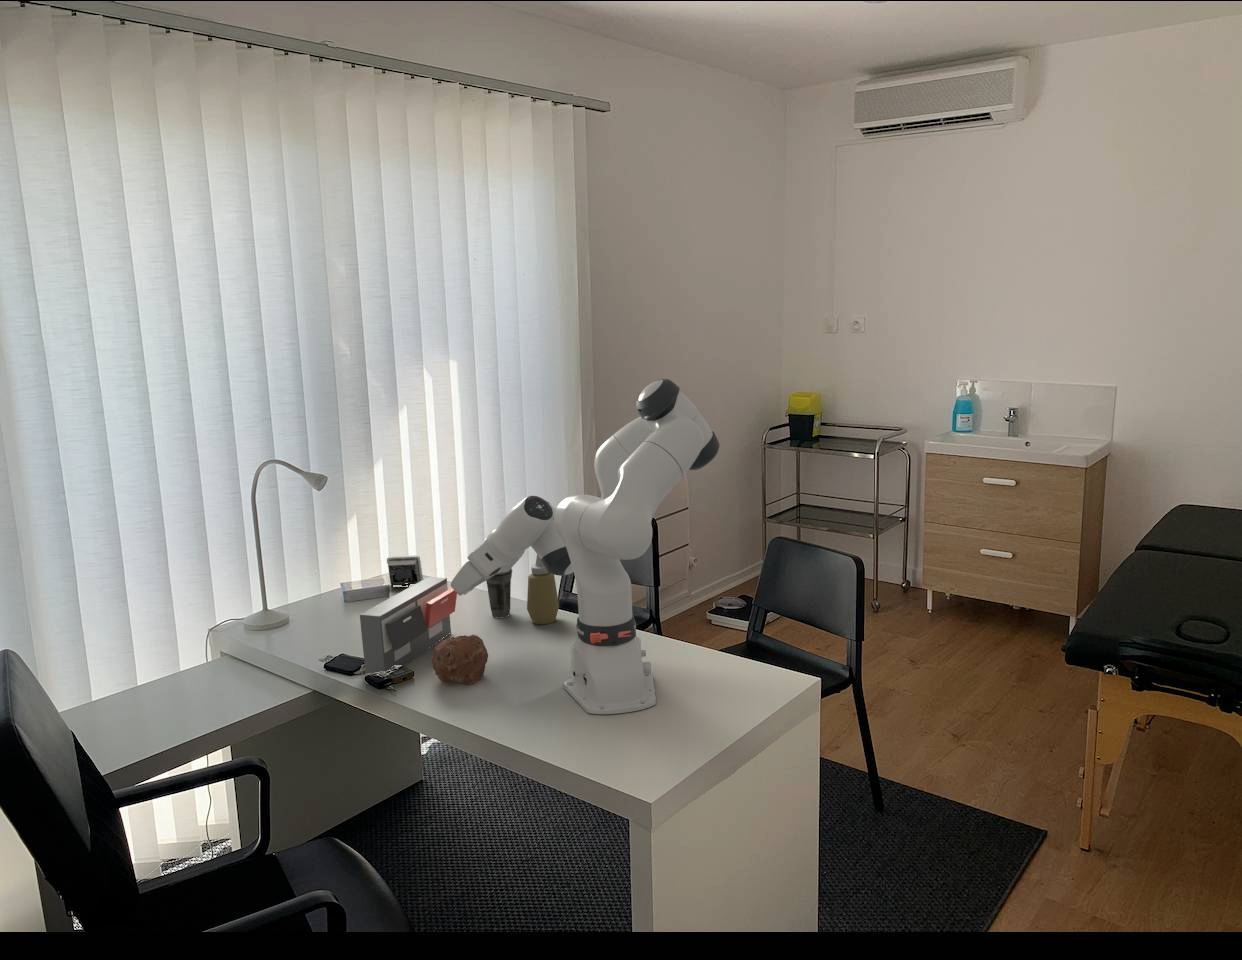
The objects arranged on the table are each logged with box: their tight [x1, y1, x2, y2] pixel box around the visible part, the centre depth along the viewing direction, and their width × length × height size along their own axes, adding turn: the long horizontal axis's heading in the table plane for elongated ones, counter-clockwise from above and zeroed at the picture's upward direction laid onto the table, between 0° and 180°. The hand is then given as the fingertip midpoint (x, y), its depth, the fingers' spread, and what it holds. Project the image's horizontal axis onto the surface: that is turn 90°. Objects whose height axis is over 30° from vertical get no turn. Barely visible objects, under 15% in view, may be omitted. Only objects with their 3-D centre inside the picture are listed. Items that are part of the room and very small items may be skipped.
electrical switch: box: [386, 554, 424, 588], centre depth 264 cm, size 9×5×9 cm, turn 92°
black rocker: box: [386, 606, 427, 650], centre depth 204 cm, size 1×12×6 cm, turn 160°
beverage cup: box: [485, 567, 513, 619], centre depth 236 cm, size 7×7×20 cm
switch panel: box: [359, 576, 452, 674], centre depth 212 cm, size 5×28×14 cm, turn 160°
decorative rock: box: [430, 634, 489, 685], centre depth 197 cm, size 13×11×10 cm
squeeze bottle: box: [526, 554, 560, 625], centre depth 230 cm, size 8×8×18 cm
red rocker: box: [425, 587, 458, 628], centre depth 217 cm, size 1×12×6 cm, turn 160°
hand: (465, 590), depth 215 cm, fingers closed
